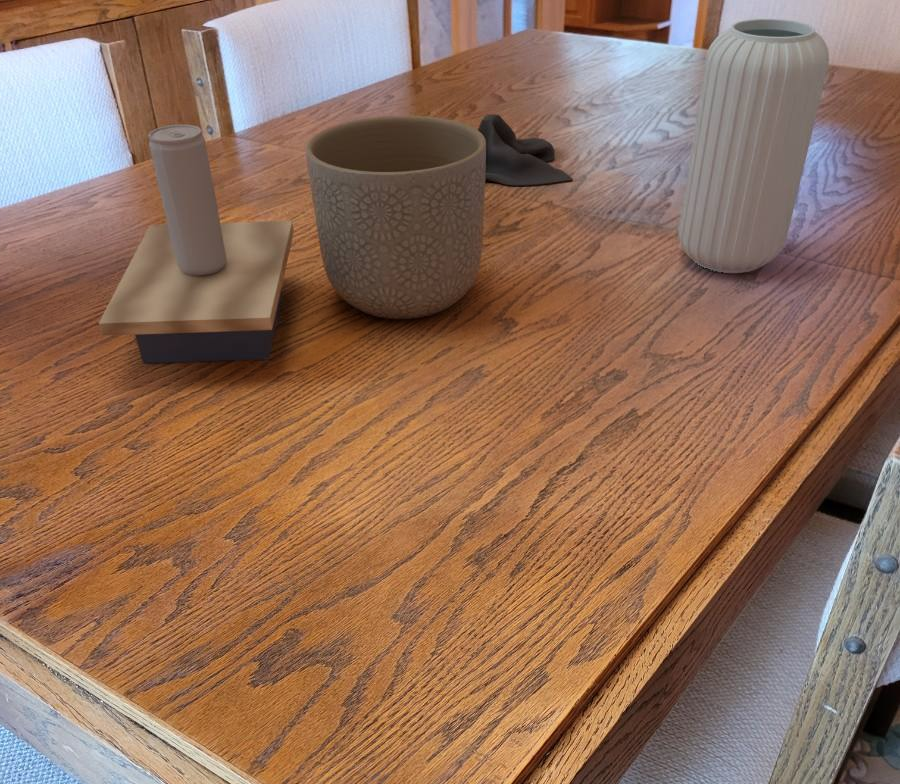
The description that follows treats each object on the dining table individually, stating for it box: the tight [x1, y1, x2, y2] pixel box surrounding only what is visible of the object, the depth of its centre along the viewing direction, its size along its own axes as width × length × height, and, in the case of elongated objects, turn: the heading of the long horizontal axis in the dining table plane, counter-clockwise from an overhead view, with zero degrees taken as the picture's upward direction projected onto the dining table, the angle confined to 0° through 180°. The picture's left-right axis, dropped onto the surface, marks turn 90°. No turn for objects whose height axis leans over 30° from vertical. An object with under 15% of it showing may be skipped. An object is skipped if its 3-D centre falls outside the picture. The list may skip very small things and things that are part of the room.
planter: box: [305, 114, 486, 320], centre depth 90 cm, size 17×17×15 cm
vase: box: [677, 18, 830, 274], centre depth 93 cm, size 12×12×22 cm
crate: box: [134, 287, 284, 364], centre depth 89 cm, size 12×14×5 cm
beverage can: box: [147, 123, 227, 276], centre depth 83 cm, size 5×5×12 cm
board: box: [98, 220, 295, 336], centre depth 87 cm, size 15×22×1 cm
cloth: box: [477, 113, 573, 187], centre depth 122 cm, size 22×19×6 cm
